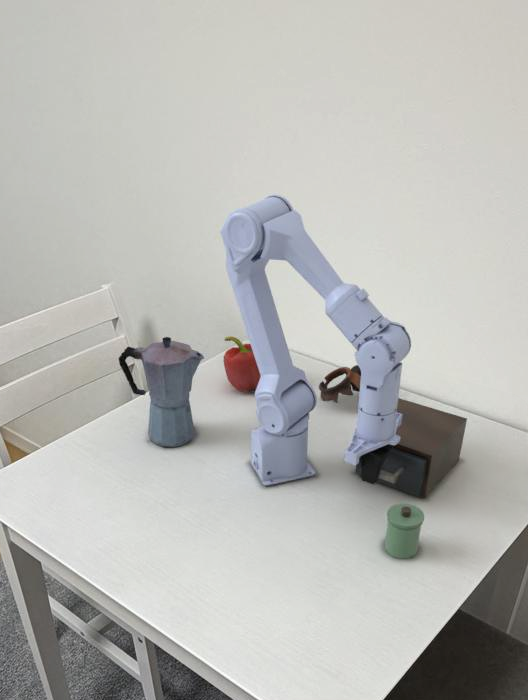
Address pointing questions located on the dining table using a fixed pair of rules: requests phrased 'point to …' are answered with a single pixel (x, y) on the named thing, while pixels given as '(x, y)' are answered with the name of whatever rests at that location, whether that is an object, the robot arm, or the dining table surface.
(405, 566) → the dining table surface
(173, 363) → the moka pot
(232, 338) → the vegetable
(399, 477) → the drawer
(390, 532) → the pot
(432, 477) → the cabinet
